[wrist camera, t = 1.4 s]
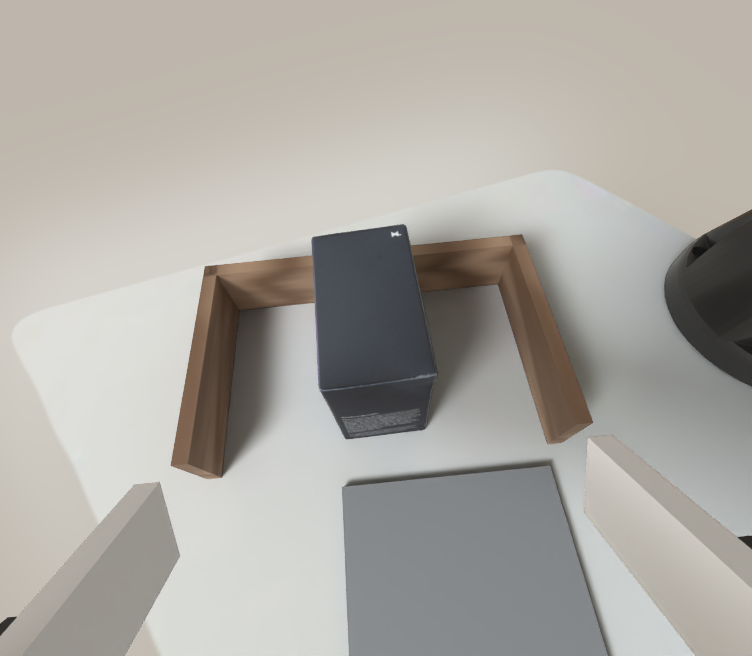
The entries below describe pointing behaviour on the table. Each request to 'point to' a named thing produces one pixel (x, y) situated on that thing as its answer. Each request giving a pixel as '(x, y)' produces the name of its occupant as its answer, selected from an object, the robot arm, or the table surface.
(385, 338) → the small box
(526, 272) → the walnut bay
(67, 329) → the table surface
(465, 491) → the rubber mat
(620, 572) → the table surface
